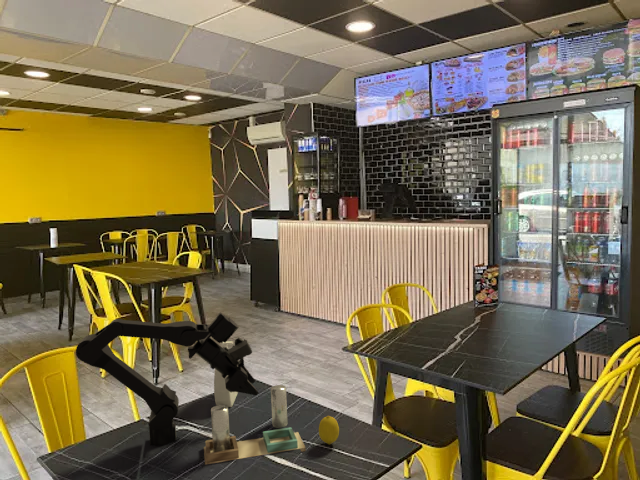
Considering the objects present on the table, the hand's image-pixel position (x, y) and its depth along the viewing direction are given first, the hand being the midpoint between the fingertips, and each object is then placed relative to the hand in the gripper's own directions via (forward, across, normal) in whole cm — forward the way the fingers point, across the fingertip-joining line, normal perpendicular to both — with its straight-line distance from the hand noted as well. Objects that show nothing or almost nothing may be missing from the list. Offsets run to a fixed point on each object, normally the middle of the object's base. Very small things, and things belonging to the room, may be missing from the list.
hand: (255, 387), depth 143 cm
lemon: (+22, -14, -3) cm, 26 cm away
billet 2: (+14, 0, +4) cm, 14 cm away
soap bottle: (+4, +24, +14) cm, 29 cm away
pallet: (+8, -11, +11) cm, 17 cm away
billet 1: (+1, -12, +16) cm, 20 cm away
